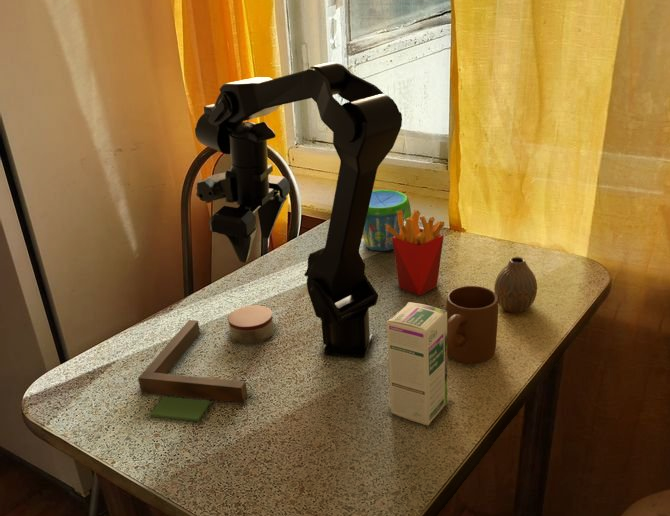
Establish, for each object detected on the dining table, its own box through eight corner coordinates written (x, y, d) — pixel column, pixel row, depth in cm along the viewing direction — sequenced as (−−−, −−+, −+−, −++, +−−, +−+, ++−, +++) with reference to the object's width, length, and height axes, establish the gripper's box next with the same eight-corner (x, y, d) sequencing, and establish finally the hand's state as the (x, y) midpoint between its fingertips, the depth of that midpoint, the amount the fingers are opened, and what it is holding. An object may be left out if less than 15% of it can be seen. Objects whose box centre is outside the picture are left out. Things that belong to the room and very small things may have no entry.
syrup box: (428, 427, 86) (428, 330, 79) (388, 413, 89) (385, 319, 82) (447, 403, 90) (449, 309, 84) (409, 391, 93) (408, 299, 87)
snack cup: (369, 264, 130) (367, 215, 126) (337, 248, 138) (334, 201, 133) (427, 241, 139) (427, 194, 134) (393, 227, 146) (392, 183, 142)
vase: (489, 313, 111) (491, 266, 107) (498, 295, 117) (500, 249, 113) (531, 319, 109) (535, 271, 105) (538, 300, 115) (542, 254, 110)
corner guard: (281, 340, 107) (280, 326, 106) (243, 402, 93) (241, 388, 91) (191, 332, 110) (188, 319, 109) (141, 392, 96) (137, 377, 95)
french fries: (416, 275, 125) (415, 199, 118) (451, 288, 120) (452, 209, 113) (383, 291, 120) (381, 213, 113) (419, 306, 115) (418, 224, 108)
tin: (280, 323, 112) (278, 306, 110) (265, 346, 105) (263, 328, 104) (240, 320, 113) (237, 303, 112) (223, 342, 107) (220, 325, 105)
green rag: (210, 403, 93) (210, 401, 93) (198, 421, 89) (198, 419, 89) (164, 398, 94) (164, 396, 94) (150, 416, 91) (150, 414, 91)
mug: (471, 386, 94) (473, 328, 89) (422, 372, 97) (422, 315, 93) (503, 345, 102) (506, 291, 98) (457, 333, 106) (459, 280, 102)
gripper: (228, 137, 115) (235, 220, 123) (173, 176, 99) (184, 267, 107) (289, 145, 112) (292, 229, 120) (242, 186, 97) (248, 279, 105)
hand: (255, 249), depth 113 cm, fingers open, 9 cm apart
